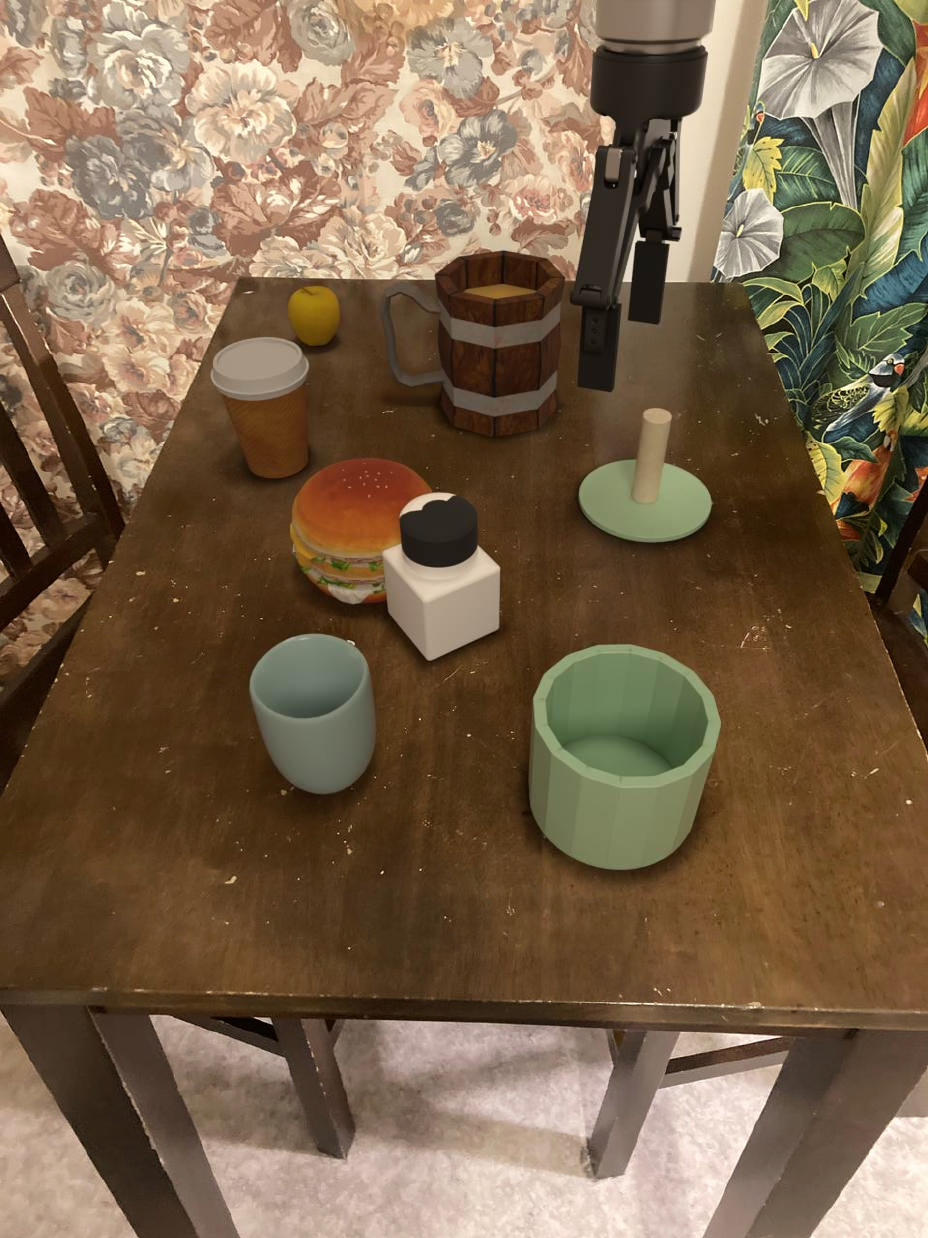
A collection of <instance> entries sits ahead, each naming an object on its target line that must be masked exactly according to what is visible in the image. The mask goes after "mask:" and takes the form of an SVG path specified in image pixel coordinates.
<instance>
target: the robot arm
mask: <svg viewBox="0 0 928 1238" xmlns="http://www.w3.org/2000/svg"><path fill="white" fill-rule="evenodd" d="M716 3H717V0H596V5H595V6H596V7H595V23H594V35H596V36H597V38H598V39H599V40H601V41H603V43H602V44H600V45H599V46H596V48H595V51H594V52H592V61H591V76H590V77H591V78H590V91H589V93H590V95H589V96H590V97H589V105H590V107H591V109H592V111H593V112H594V113H596V114H597V115H599V116H602V117H609V118H610V119H612V120H613V122H614V126H615V128H614V131H613V137H612V143H609V144H608V145H601V144H599V145H598V146H597V149H596V152H595V154H594V169H593V179H592V180H593V181H592V189H591V192H590V199H589V204H588V210H587V215H586V221H585V226H584V232H583V237H582V242H581V248H580V253H579V258H578V264H577V268H576V275H575V280H574V286H573V291H570V292H569V303H570V304H571V305H573V306H578V307H581V319H580V332H579V333H580V335H579V349H578V350H579V352H578V366H577V367H578V368H577V380H576V381H577V383H576V386H577V388H583V389H588V390H594V391H600V392H606V393H612V392H613V391H614V390H615V383H616V374H617V362H618V361H617V360H618V352H619V342H620V341H619V340H620V329H621V319H622V308H623V303H620V302H619V297H620V293H621V289H622V287H623V282H624V278H625V274H626V270H627V266H628V262H629V258H630V254H631V250H632V247H633V243H634V239H635V237H636V232H637V227H638V232H639V238H640V239H644V240H636V242H635V243H634V249H633V252H634V253H633V262H632V270H631V271H632V272H631V280H630V281H631V284H630V292H629V302H628V313H627V321H629V322H636V323H642V324H643V323H644V324H649V325H656V326H659V324H660V322H661V318H662V311H663V304H664V303H663V302H664V297H665V296H664V295H665V287H666V278H667V270H668V263H669V255H670V254H669V253H670V246H671V244H670V243H667V242H677V243H679V242H680V241H681V238H682V237H681V236H682V231H683V227H682V226H678V223H679V221H680V180H681V179H680V178H681V177H680V174H681V173H680V172H681V170H680V169H681V135H682V123H683V120H684V118H685V117H688V116H691V115H693V114H694V113H696V112H697V111H698V110H699V109H700V108H701V106H702V103H703V95H704V89H705V81H706V80H705V79H706V74H707V73H706V72H707V64H708V57H709V52H708V51H707V50H706V49H707V48H706V47H705V45H703V44H702V40H704V39H706V38H708V37H709V36H710V35H711V33H713V28H714V19H715V11H716V5H717V4H716ZM666 241H667V242H666ZM595 287H599V288H595Z"/></svg>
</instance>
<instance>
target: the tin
mask: <svg viewBox="0 0 928 1238" xmlns="http://www.w3.org/2000/svg"><path fill="white" fill-rule="evenodd" d="M530 725H531V727H530V729H531V730H530V743H529V745H530V746H529V760H528V761H529V763H528V779H527V780H528V799H529V806H530V809H531V813H532V816H533V818H534V820H535V822H536V824H537V826H538V828H539V829H540V830H541V832H542V833H543V835H544V836H545V837H546V838H547V839H548V841H549V842H551V843H552V844H553V845H554V846H555V847H556V848H557V849H558V850H560V851H561V852H563V853H564V854H565V855H566V856H569V857H571V858H572V859H574V860H576V861H578V862H581V863H583V864H586V865H589V866H592V867H595V868H601V869H606V870H618V871H625V870H627V871H628V870H636V869H640V868H641V869H642V868H645V867H649V866H651V865H654V864H656V863H658V862H660V861H662V860H664V859H666V858H667V857H669V856H670V855H672V854H673V853H674V852H675V851H676V850H678V848H680V846H681V845H682V844H683V843H684V841H685V840H686V838H687V836H688V835H689V834H690V833H691V830H692V828H693V824H694V821H695V818H696V815H697V811H698V808H699V804H700V801H701V798H702V794H703V791H704V789H705V788H704V787H705V785H706V782H707V778H708V775H709V771H710V768H711V765H712V762H713V758H714V755H715V752H716V747H717V744H718V740H719V735H720V732H721V728H722V721H721V717H720V713H719V710H718V706H717V703H716V699H715V695H714V694H713V692H712V691H711V690H710V689H709V688H708V687H707V686H706V684H705V683H704V682H703V681H702V680H701V678H700V677H699V676H698V675H697V673H696V672H695V671H694V670H693V669H691V668H689V667H688V666H686V665H684V664H683V663H682V662H679V661H678V660H676V659H675V658H673V657H671V656H670V655H668V654H666V653H664V652H661V651H658V650H654V649H651V648H646V647H642V646H639V645H636V644H631V643H627V644H626V643H624V644H620V643H619V644H595V645H593V646H590V647H587V648H584V649H581V650H578V651H575V652H572V653H568V654H567V655H565V656H564V657H562V658H561V659H560V660H559V661H558V662H557V663H555V664H554V665H553V666H552V667H550V668H549V669H548V670H547V671H545V673H544V674H543V675H542V678H541V679H540V682H539V684H538V686H537V688H536V690H535V693H534V695H533V697H532V708H531V724H530Z"/></svg>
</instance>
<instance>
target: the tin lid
mask: <svg viewBox="0 0 928 1238" xmlns="http://www.w3.org/2000/svg"><path fill="white" fill-rule="evenodd" d="M672 418H673V416H672V414H671V412H670V411H668V410H666V409H663V408H659V407H652V408H648V409H645V410H644V411H643V413H642V417H641V423H640V430H639V436H638V437H639V439H638V444H637V453H636V458H635V459H624V460H617V461H613V462H610V463H606V464H604V465H601V466H599V467H597V468H596V469H594V470H592V471H591V472H589V473H588V474H587V475H586V477H584V478H583V481H582V482H581V483H580V486H579V490H578V504H579V508H580V510H581V512H582V513H583V515H584V516H585V518H587V520H588V521H589V522H590V523H592V525H594V526H595V527H597V528H598V529H600V530H602V531H603V532H605V533H607V534H610V535H612V536H615V537H617V538H620V539H624V540H626V541H627V540H628V541H634V542H640V543H665V542H671V541H672V542H673V541H676V540H680V539H683V538H685V537H688V536H690V535H692V534H694V533H695V532H697V531H698V530H700V529H701V528H702V527H703V526H704V525H705V524H706V522H707V521H708V519H709V517H710V515H711V510H712V497H711V494H710V491H709V490H708V488H707V487H706V486H705V484H704V483H703V482H702V481H701V480H700V479H699V478H698V477H696V476H695V475H694V474H692V473H691V472H689V471H687V470H685V469H684V468H681V467H679V466H676V465H674V464H670V463H666V462H665V460H666V453H667V449H668V442H669V437H670V431H671V425H672V420H673V419H672Z"/></svg>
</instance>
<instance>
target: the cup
mask: <svg viewBox="0 0 928 1238" xmlns="http://www.w3.org/2000/svg"><path fill="white" fill-rule="evenodd" d="M248 685H249V686H248V687H249V689H248V691H249V692H248V693H249V697H250V701H251V702H250V703H251V705H252V710H253V713H254V716H255V719H256V722H257V725H258V728H259V732H260V734H261V735H260V736H261V738H262V740H263V744H264V746H265V749H266V751H267V753H268V756H269V758H270V760H271V761H272V763H273V765H274V766H275V768H276V769H277V771H278V772H279V774H280V775H281V776H282V777H283V778H284V779H285V780H287V781H288V783H290V784H291V785H293V786H294V787H296V788H298V789H300V790H303V791H305V792H308V793H311V794H315V795H332V794H336V793H339V792H342V791H344V790H346V789H348V788H349V787H351V786H352V785H353V784H354V783H356V782H357V781H358V780H359V779H360V778H361V776H363V774H364V773H365V771H366V770H367V769H368V767H369V765H370V763H371V760H372V758H373V755H374V752H375V748H376V741H377V715H376V704H375V697H374V688H373V682H372V675H371V671H370V666H369V664H368V661H367V659H366V657H365V655H364V654H363V653H362V652H361V650H360V649H359V648H357V647H356V646H354V645H353V644H351V643H350V642H349V641H346V640H344V639H343V638H341V637H337V636H333V635H330V634H324V633H306V634H300V635H296V636H292V637H289V638H287V639H285V640H283V641H281V642H279V643H278V644H276V645H275V646H273V647H271V649H269V650H268V651H267V652H265V654H263V656H262V657H261V658H260V659H259V661H258V662H257V663H256V665H255V667H254V668H253V670H252V672H251V675H250V678H249V684H248Z"/></svg>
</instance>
